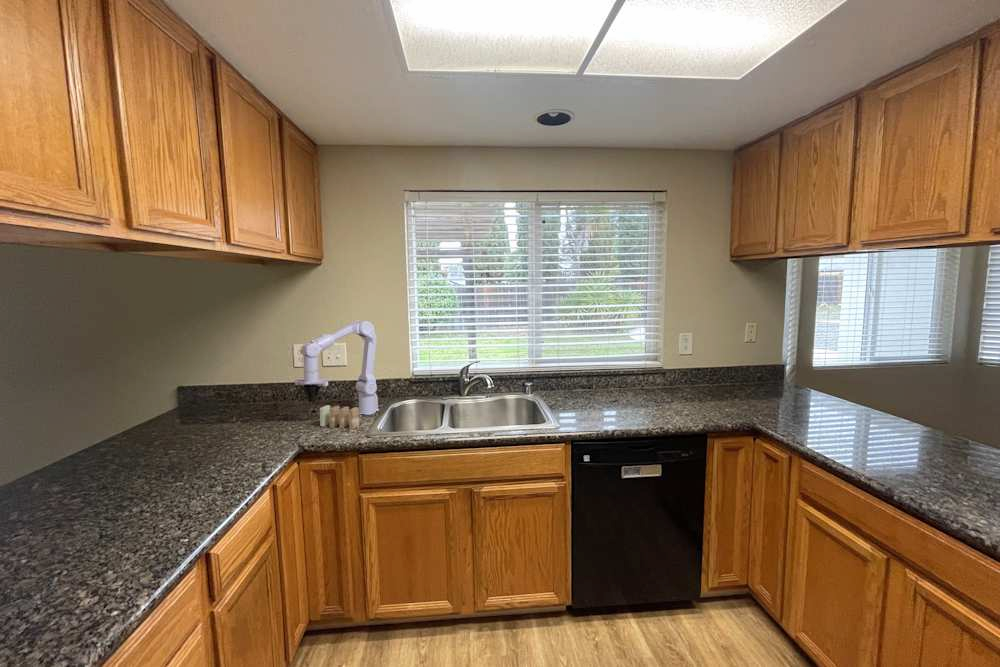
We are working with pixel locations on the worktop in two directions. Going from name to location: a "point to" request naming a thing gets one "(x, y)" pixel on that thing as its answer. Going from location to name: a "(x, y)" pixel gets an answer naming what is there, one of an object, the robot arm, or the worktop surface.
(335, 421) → the domino
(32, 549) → the worktop surface
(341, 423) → the domino
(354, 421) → the domino
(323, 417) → the domino
